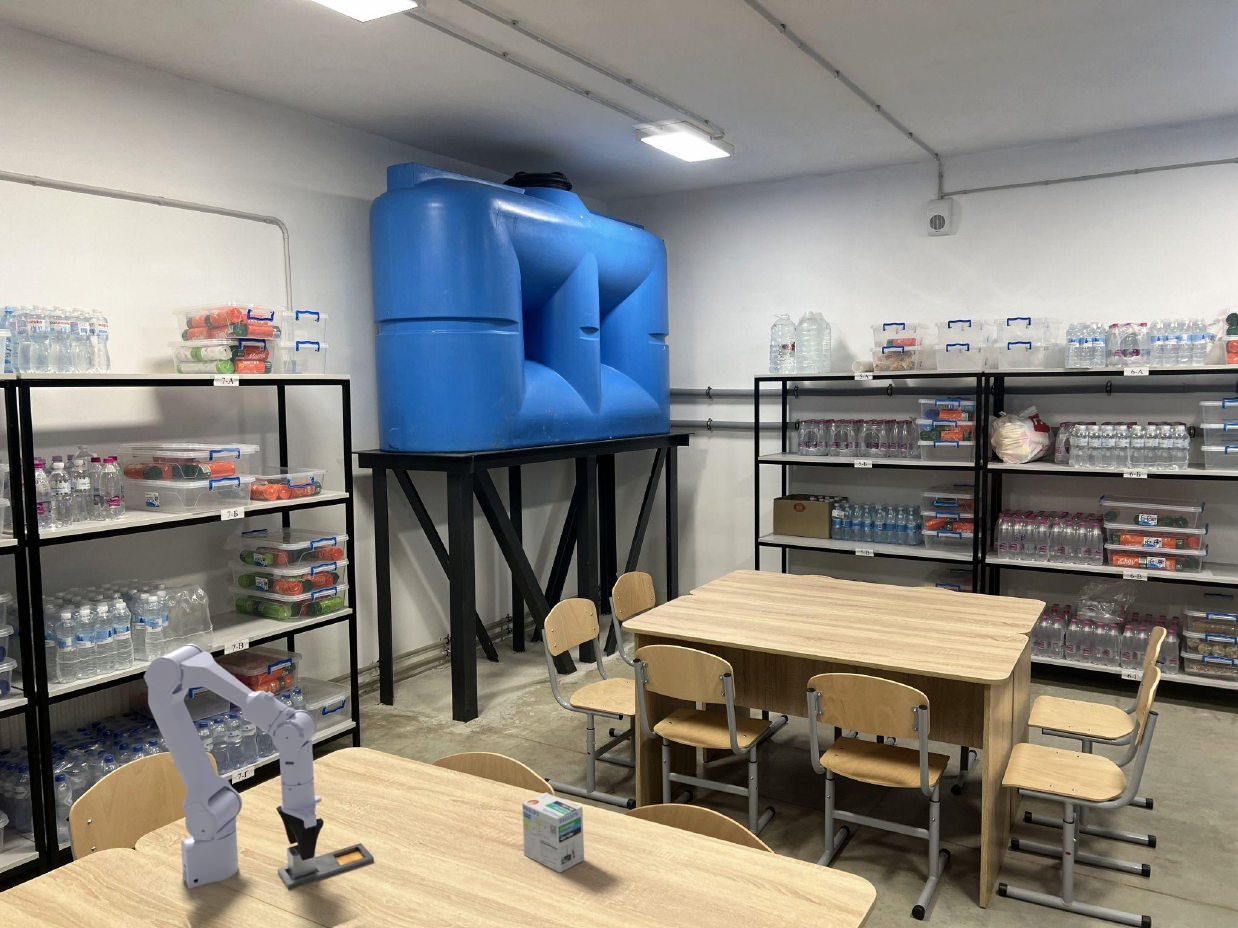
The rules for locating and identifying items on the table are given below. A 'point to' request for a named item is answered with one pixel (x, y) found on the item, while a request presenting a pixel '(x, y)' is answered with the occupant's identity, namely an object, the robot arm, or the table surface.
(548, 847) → the light bulb box
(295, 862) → the grey square block
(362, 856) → the dark gray slotted base
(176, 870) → the table surface
